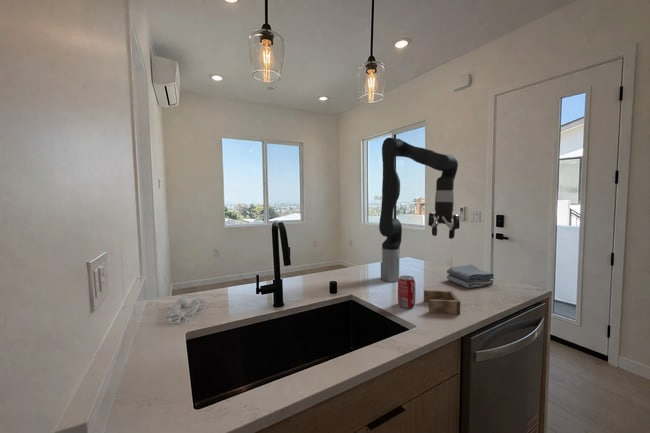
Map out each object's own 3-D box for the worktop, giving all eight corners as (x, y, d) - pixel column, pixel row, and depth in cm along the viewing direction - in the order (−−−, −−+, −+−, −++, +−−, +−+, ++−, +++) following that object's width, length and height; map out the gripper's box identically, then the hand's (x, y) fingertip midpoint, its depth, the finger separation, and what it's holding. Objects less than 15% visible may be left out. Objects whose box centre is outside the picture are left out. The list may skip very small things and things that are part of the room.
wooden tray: (429, 312, 108) (429, 300, 108) (423, 301, 120) (423, 290, 119) (460, 314, 106) (460, 301, 106) (451, 302, 118) (451, 291, 118)
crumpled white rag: (195, 328, 101) (195, 317, 100) (153, 326, 99) (153, 315, 99) (211, 305, 120) (212, 296, 120) (177, 304, 118) (177, 295, 118)
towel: (445, 281, 148) (445, 266, 148) (471, 277, 155) (471, 263, 154) (468, 289, 134) (469, 274, 134) (496, 285, 141) (496, 270, 140)
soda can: (413, 302, 118) (413, 275, 117) (417, 309, 111) (417, 280, 110) (396, 302, 119) (396, 274, 118) (399, 308, 112) (399, 279, 111)
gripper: (425, 200, 126) (424, 235, 128) (453, 201, 114) (451, 240, 116) (436, 200, 130) (434, 234, 132) (464, 201, 118) (462, 238, 119)
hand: (442, 237), depth 124 cm, fingers open, 8 cm apart
